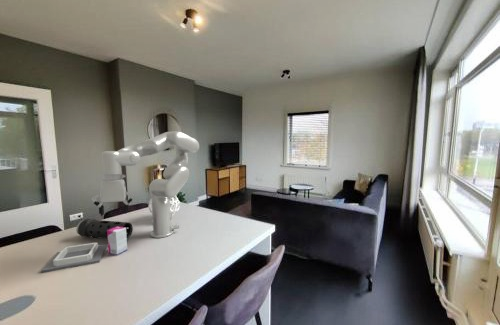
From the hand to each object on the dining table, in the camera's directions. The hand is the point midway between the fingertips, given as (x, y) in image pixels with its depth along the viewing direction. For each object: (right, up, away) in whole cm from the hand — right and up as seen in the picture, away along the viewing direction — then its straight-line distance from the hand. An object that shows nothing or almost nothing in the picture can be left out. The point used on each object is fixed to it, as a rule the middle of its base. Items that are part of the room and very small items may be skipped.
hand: (114, 213), depth 103 cm
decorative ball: (+6, -15, +46) cm, 49 cm away
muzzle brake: (-15, -18, +16) cm, 29 cm away
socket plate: (-15, -20, -3) cm, 25 cm away
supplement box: (0, -19, +2) cm, 19 cm away
